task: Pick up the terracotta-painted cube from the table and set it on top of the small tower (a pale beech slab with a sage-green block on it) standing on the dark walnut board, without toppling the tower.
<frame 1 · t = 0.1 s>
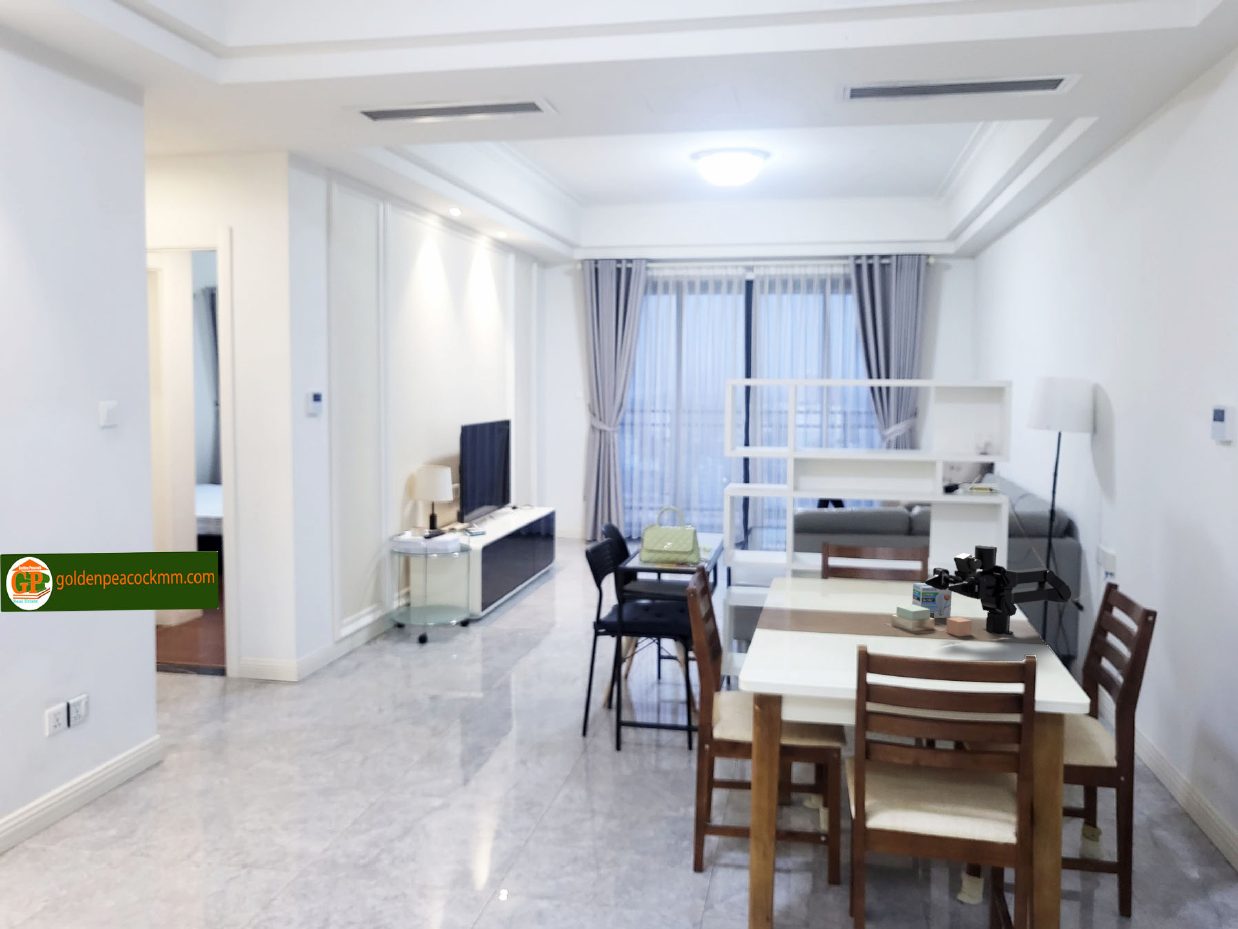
hand: (936, 585, 282), 17 cm above the table, tool horizontal, fingers open, 9 cm apart
light bulb box: (930, 618, 313), on the table
terracotta cube: (958, 635, 291), on the table
beech slab: (912, 626, 298), point 1 cm above the table, touching sage block, walnut board
walnut board: (921, 628, 298), on the table
sage block: (912, 616, 298), point 4 cm above the table, touching beech slab
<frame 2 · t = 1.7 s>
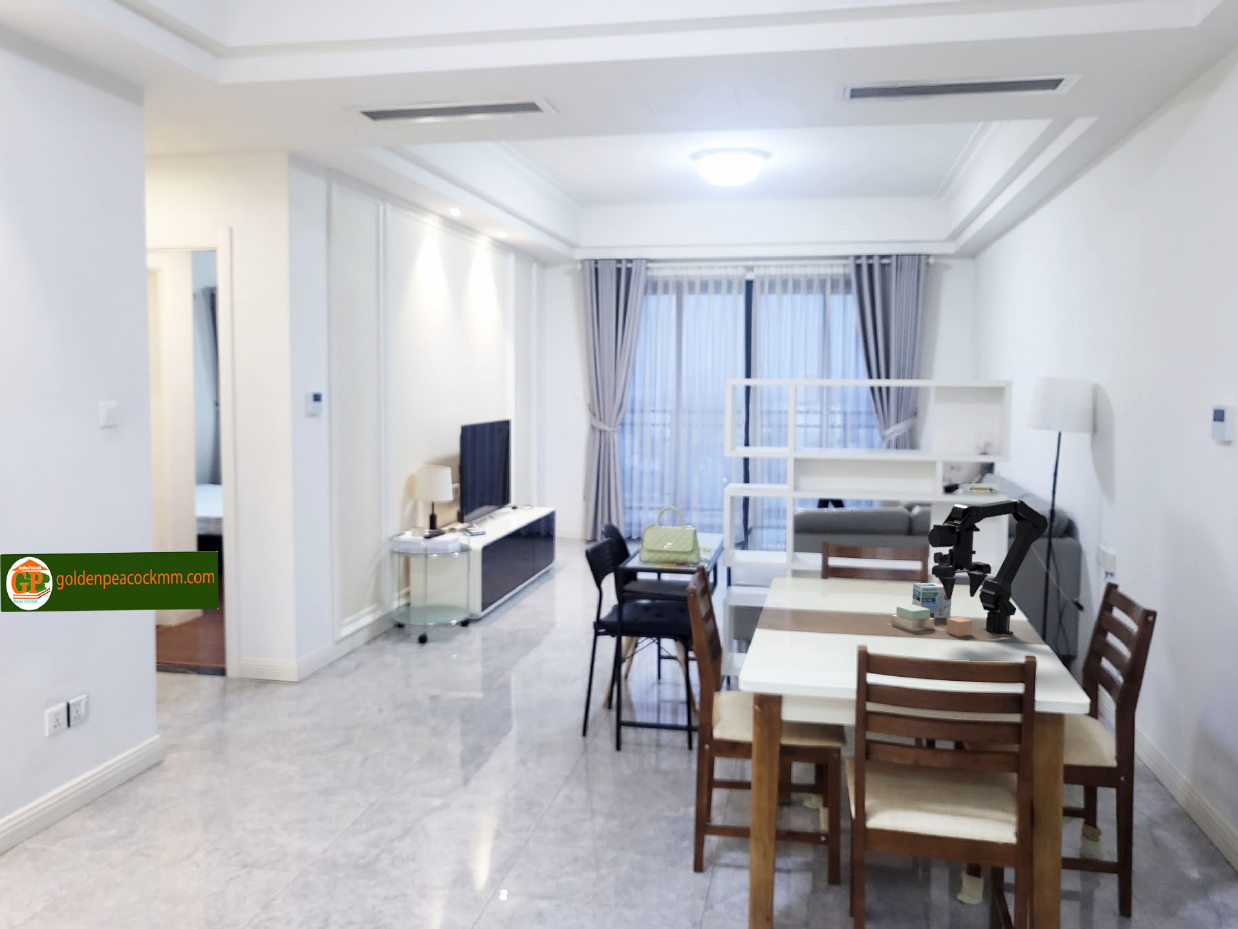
hand: (960, 598, 290), 11 cm above the table, tool pointing down, fingers open, 9 cm apart
nothing on the table moved.
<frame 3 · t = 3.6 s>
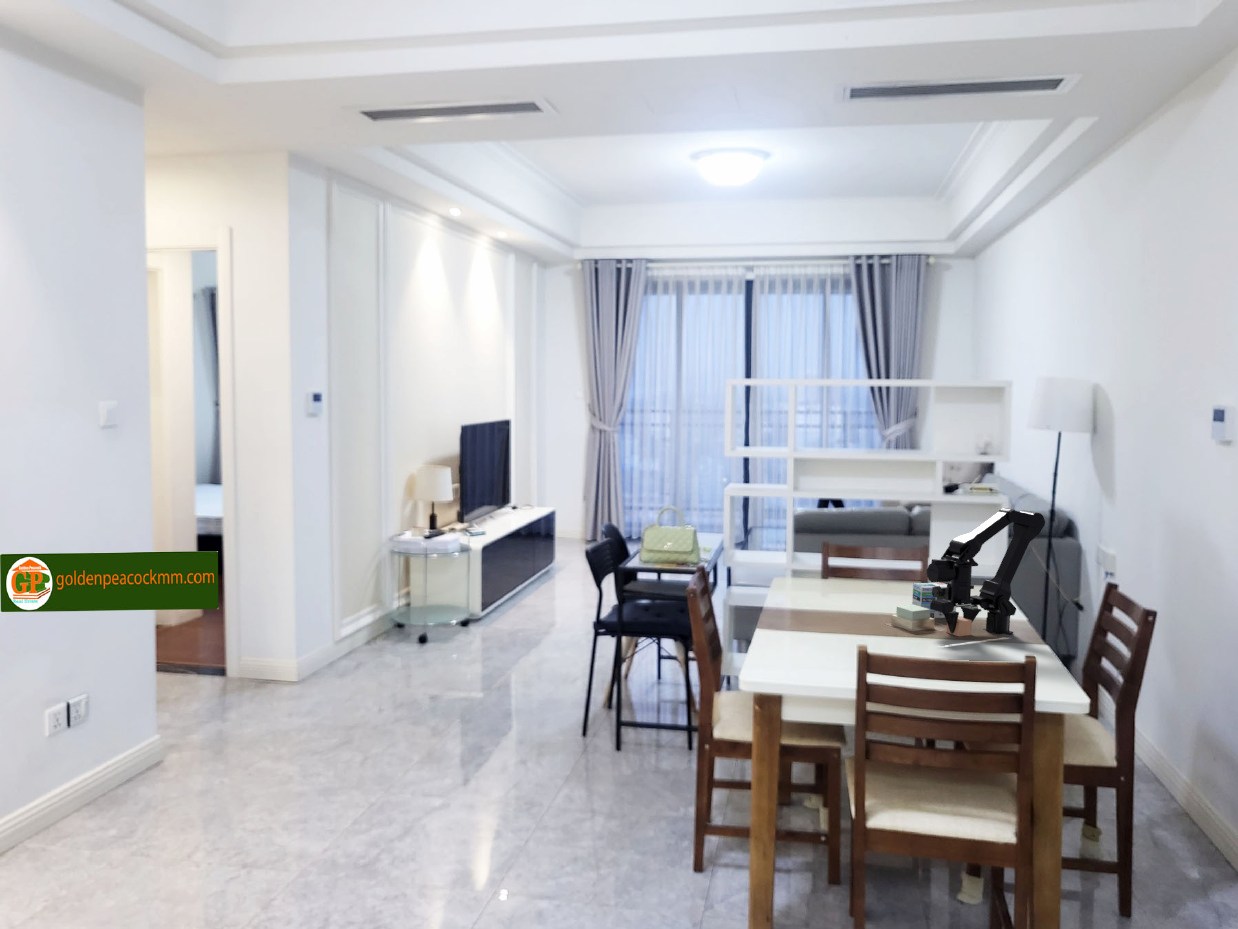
hand: (958, 632, 290), 1 cm above the table, tool pointing down, fingers closed on terracotta cube, 5 cm apart
terracotta cube: (958, 635, 291), on the table, touching gripper
everything else where it was.
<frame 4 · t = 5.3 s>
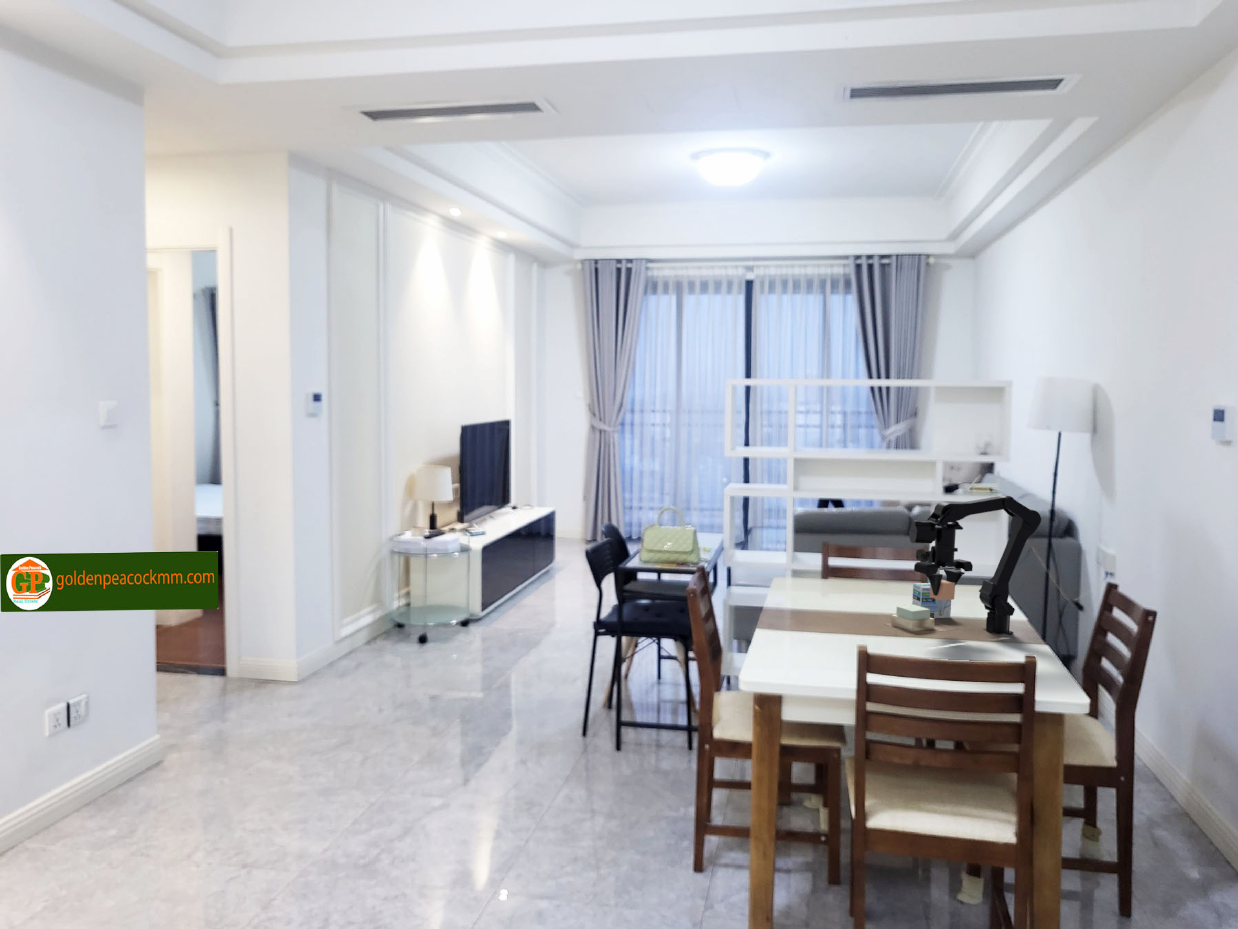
hand: (941, 594, 292), 12 cm above the table, tool pointing down, fingers closed on terracotta cube, 5 cm apart
terracotta cube: (941, 598, 292), point 11 cm above the table, touching gripper
everything else where it was.
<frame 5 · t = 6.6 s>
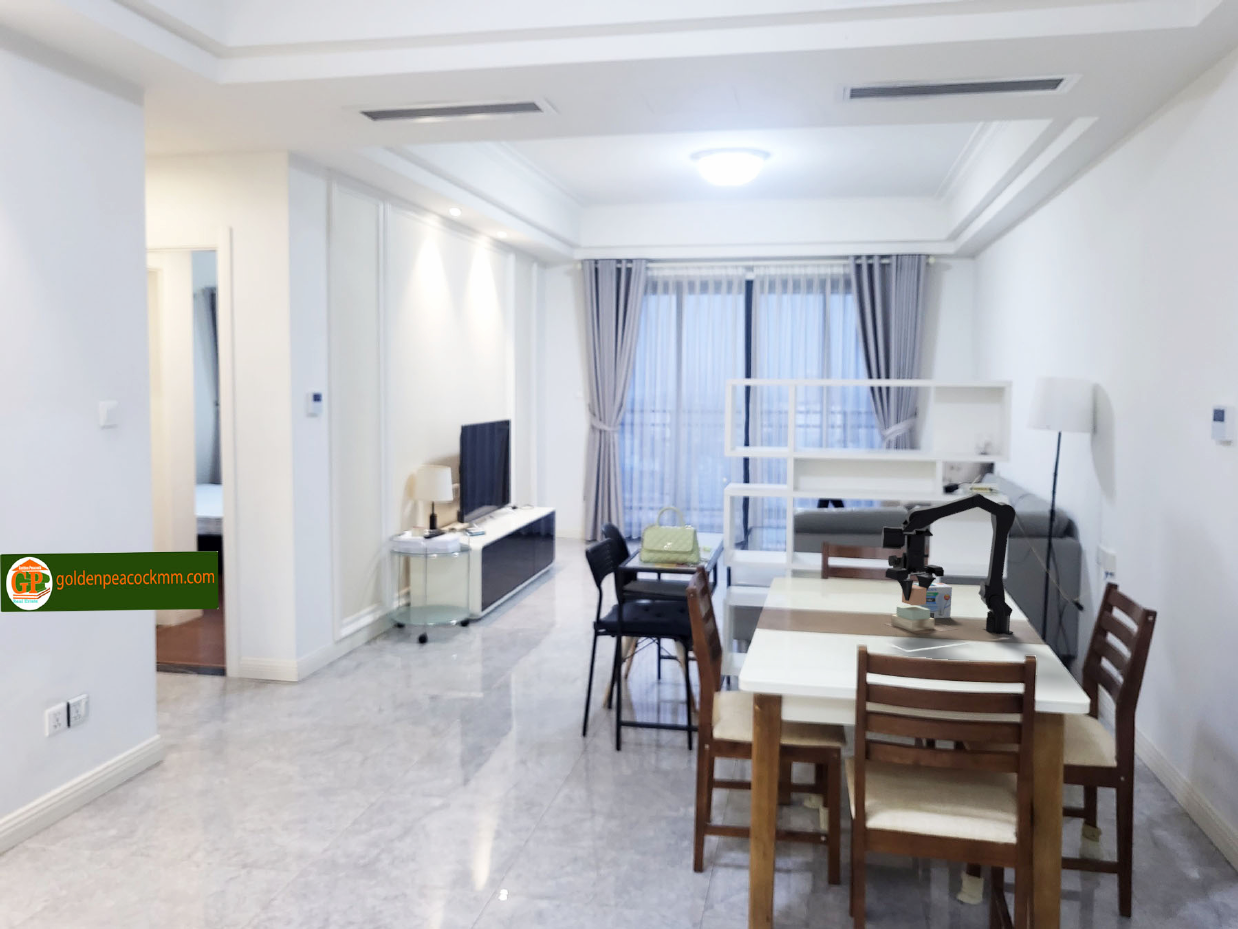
hand: (913, 600, 298), 9 cm above the table, tool pointing down, fingers closed on terracotta cube, 5 cm apart
terracotta cube: (913, 603, 298), point 8 cm above the table, touching gripper
everything else where it was.
when the fingers open (9 cm above the table, at t = 7.3 s): terracotta cube drops 1 cm, resting on sage block.
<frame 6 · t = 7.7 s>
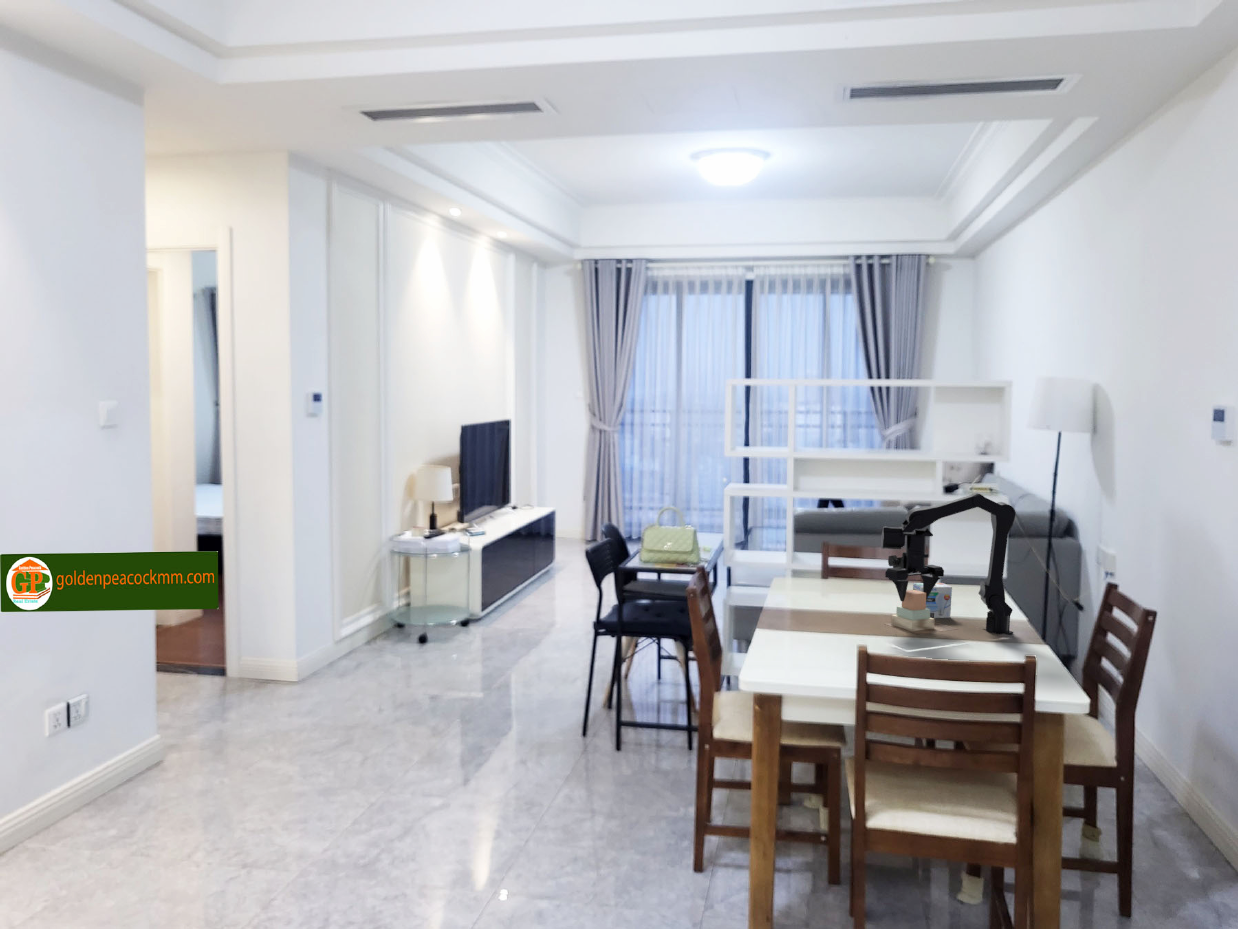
hand: (913, 600, 298), 9 cm above the table, tool pointing down, fingers open, 9 cm apart
terracotta cube: (913, 608, 298), point 6 cm above the table, touching sage block
sage block: (912, 616, 298), point 4 cm above the table, touching beech slab, terracotta cube
everything else where it was.
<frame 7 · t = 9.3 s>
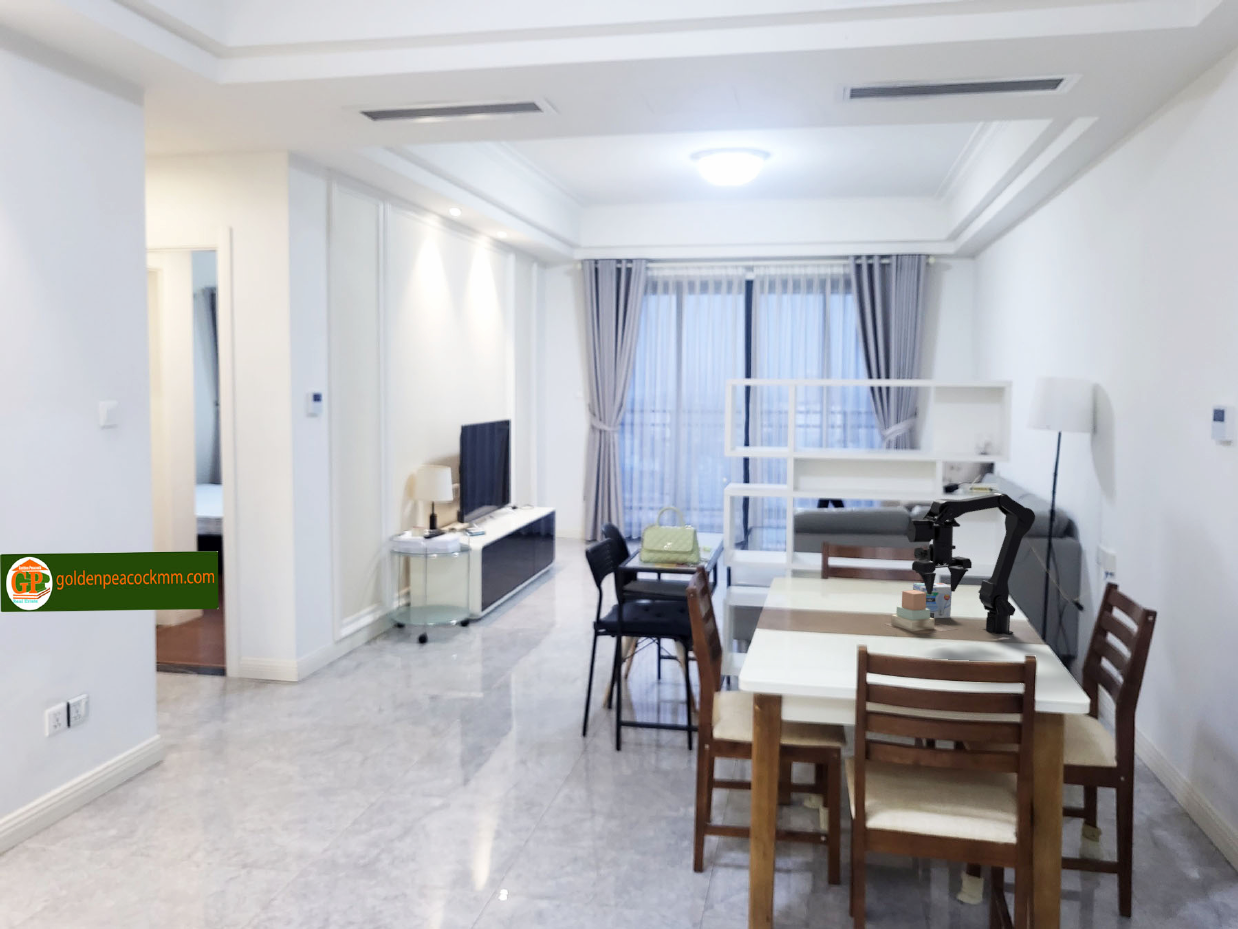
hand: (941, 592, 291), 13 cm above the table, tool pointing down, fingers open, 9 cm apart
nothing on the table moved.
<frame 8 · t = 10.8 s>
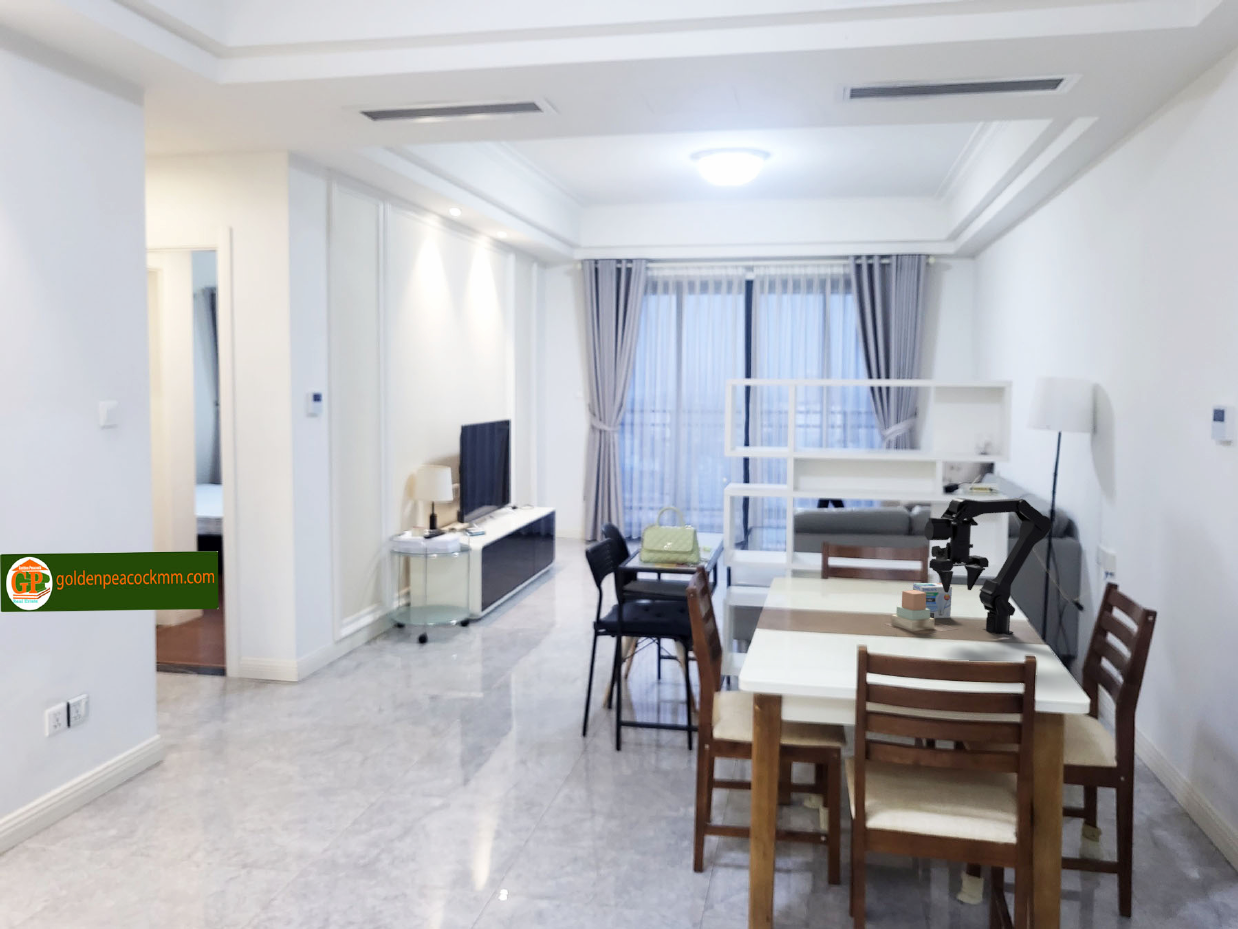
hand: (957, 591, 292), 13 cm above the table, tool pointing down, fingers open, 9 cm apart
nothing on the table moved.
at the end: terracotta cube 0.1 cm off-centre on the sage block, point 2.8 cm above the sage block's base; terracotta cube tilted 0°; sage block 0.0 cm off-centre on the beech slab, point 3.0 cm above the beech slab's base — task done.
